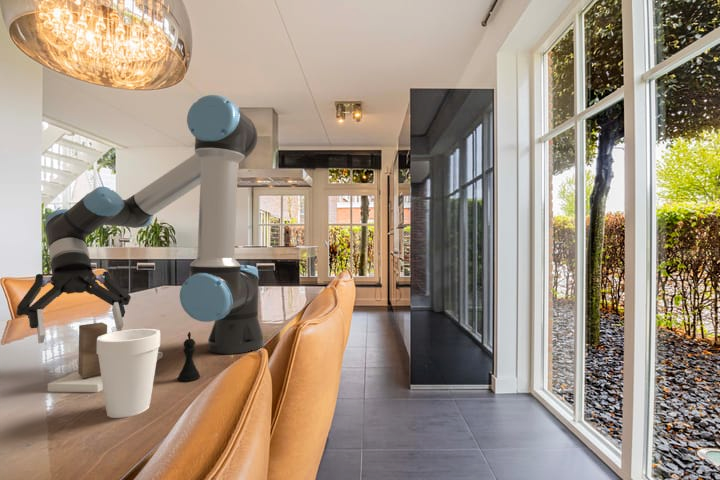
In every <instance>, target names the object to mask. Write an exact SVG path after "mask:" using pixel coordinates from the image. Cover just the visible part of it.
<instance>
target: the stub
mask: <svg viewBox="0 0 720 480" xmlns="http://www.w3.org/2000/svg"><path fill="white" fill-rule="evenodd" d="M78 330H79V331H78V363H77V364H78V369H77V370H78V374H79V375H80V376H81V377H82V378H86V377H90V376H95V375H99V374H101V371H100V364H99V357H98V354H97V338H98V337H99V336H102V335H104V334H107V333H108V325H107V324H106V323H104V322H95V323H87V324H80V325H78Z"/></svg>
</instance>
